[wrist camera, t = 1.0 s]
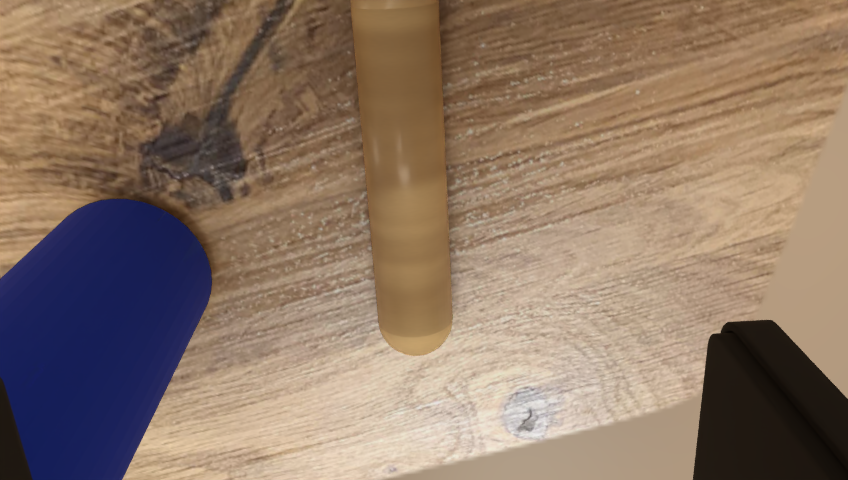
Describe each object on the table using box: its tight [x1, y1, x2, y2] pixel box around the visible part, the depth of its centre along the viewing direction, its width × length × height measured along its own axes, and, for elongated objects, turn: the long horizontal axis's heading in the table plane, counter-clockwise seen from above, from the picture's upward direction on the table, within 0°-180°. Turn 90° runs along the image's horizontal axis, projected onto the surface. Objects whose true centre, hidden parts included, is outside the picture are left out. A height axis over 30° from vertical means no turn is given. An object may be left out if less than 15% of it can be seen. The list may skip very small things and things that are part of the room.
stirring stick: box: [351, 0, 453, 356], centre depth 23 cm, size 12×2×2 cm, turn 3°
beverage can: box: [0, 199, 212, 480], centre depth 18 cm, size 5×5×15 cm
